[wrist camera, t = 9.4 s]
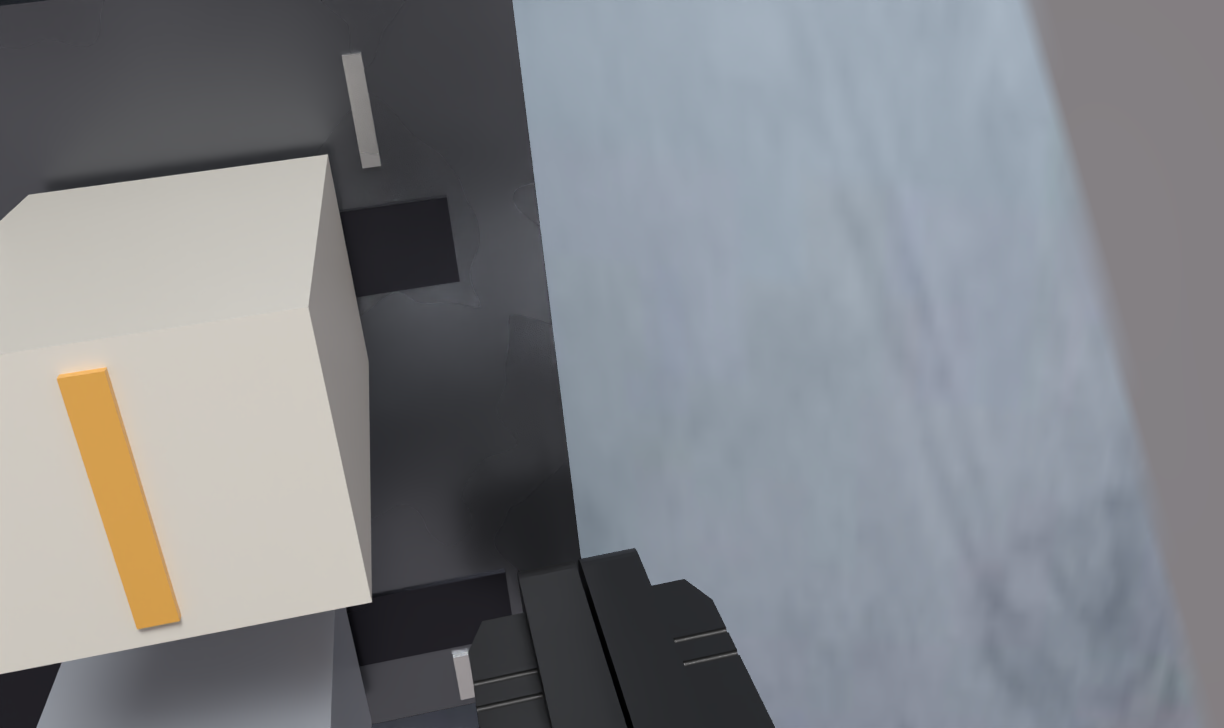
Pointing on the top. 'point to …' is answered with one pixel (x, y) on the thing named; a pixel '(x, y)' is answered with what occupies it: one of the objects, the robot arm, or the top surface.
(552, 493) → the fader console
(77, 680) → the slate fader cap
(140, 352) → the ivory cap
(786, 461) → the top surface
